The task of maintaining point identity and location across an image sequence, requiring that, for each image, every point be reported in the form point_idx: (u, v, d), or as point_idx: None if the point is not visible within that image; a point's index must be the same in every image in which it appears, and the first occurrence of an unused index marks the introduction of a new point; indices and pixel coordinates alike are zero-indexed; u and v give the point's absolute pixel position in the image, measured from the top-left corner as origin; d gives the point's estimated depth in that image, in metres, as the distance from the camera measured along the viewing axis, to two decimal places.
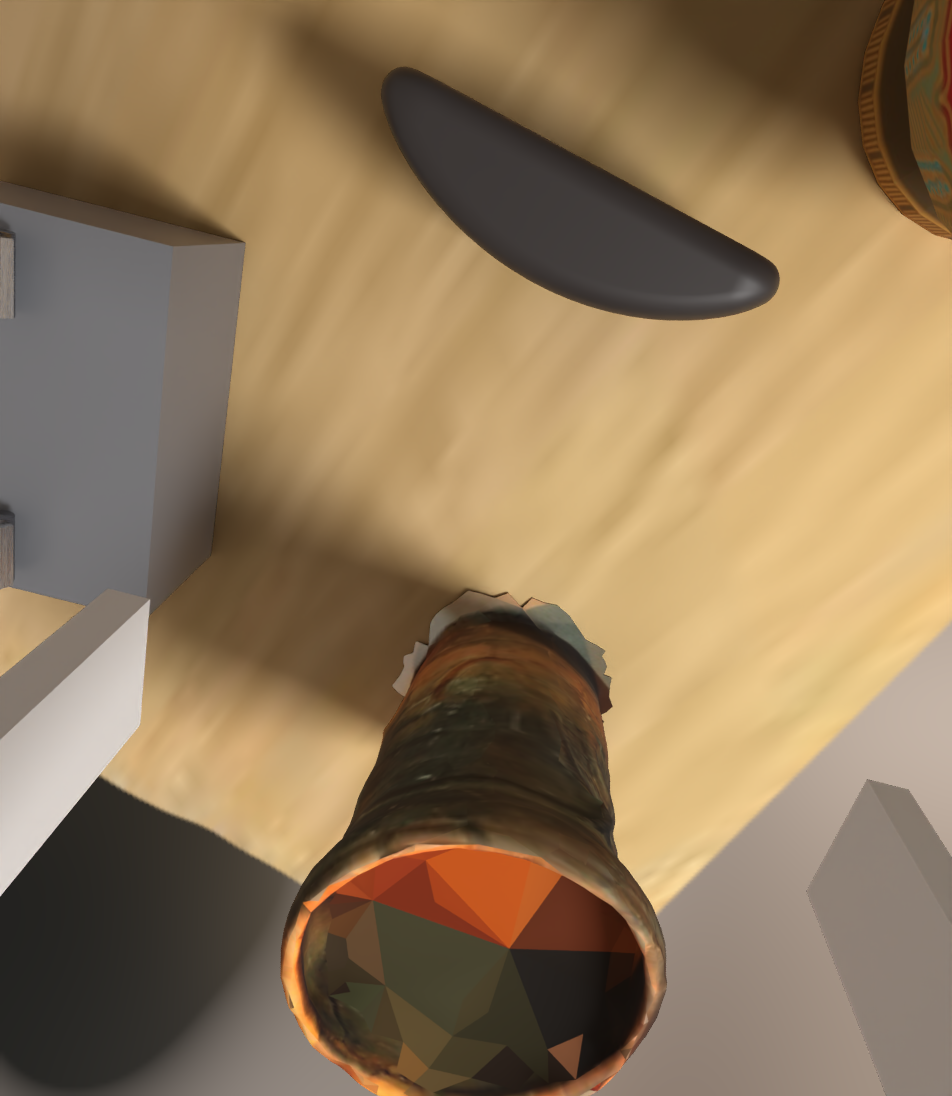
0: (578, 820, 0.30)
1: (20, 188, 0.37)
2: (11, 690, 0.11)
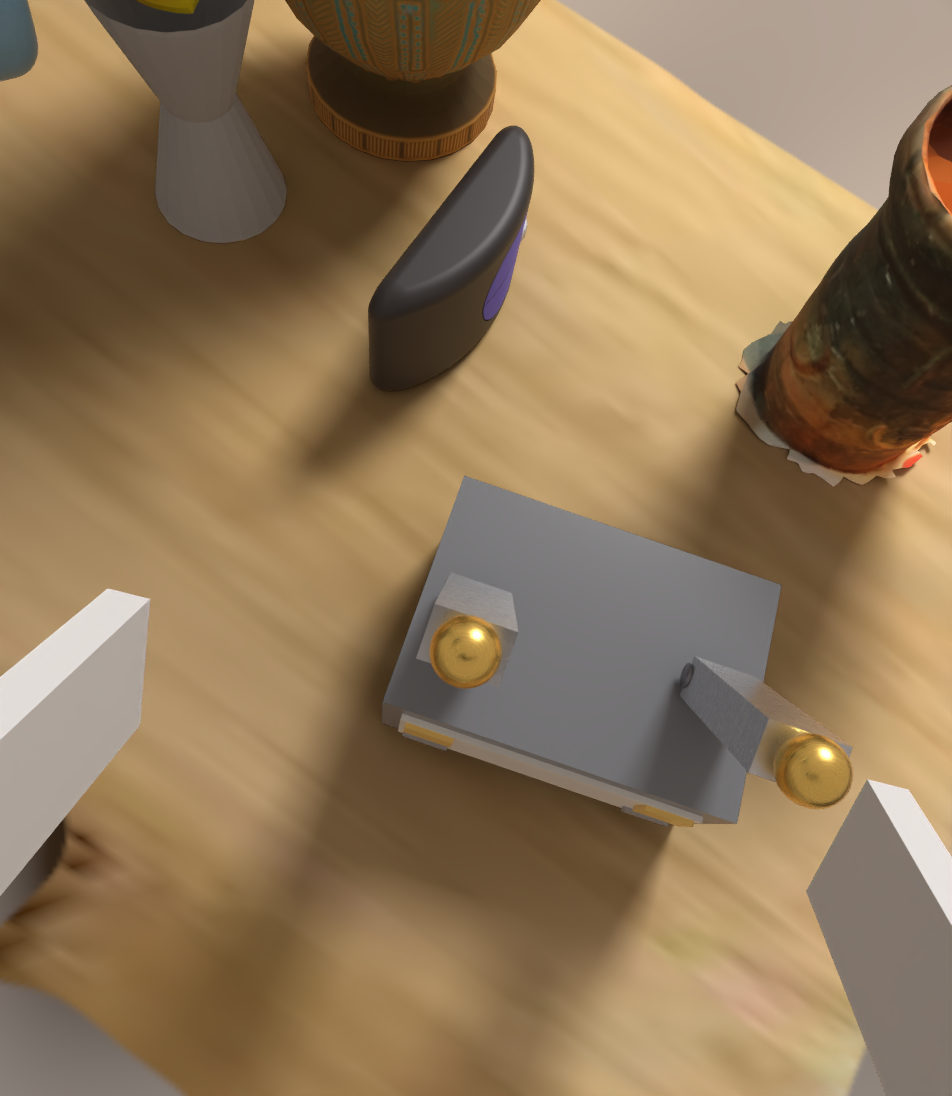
0: None
1: None
2: (11, 690, 0.11)
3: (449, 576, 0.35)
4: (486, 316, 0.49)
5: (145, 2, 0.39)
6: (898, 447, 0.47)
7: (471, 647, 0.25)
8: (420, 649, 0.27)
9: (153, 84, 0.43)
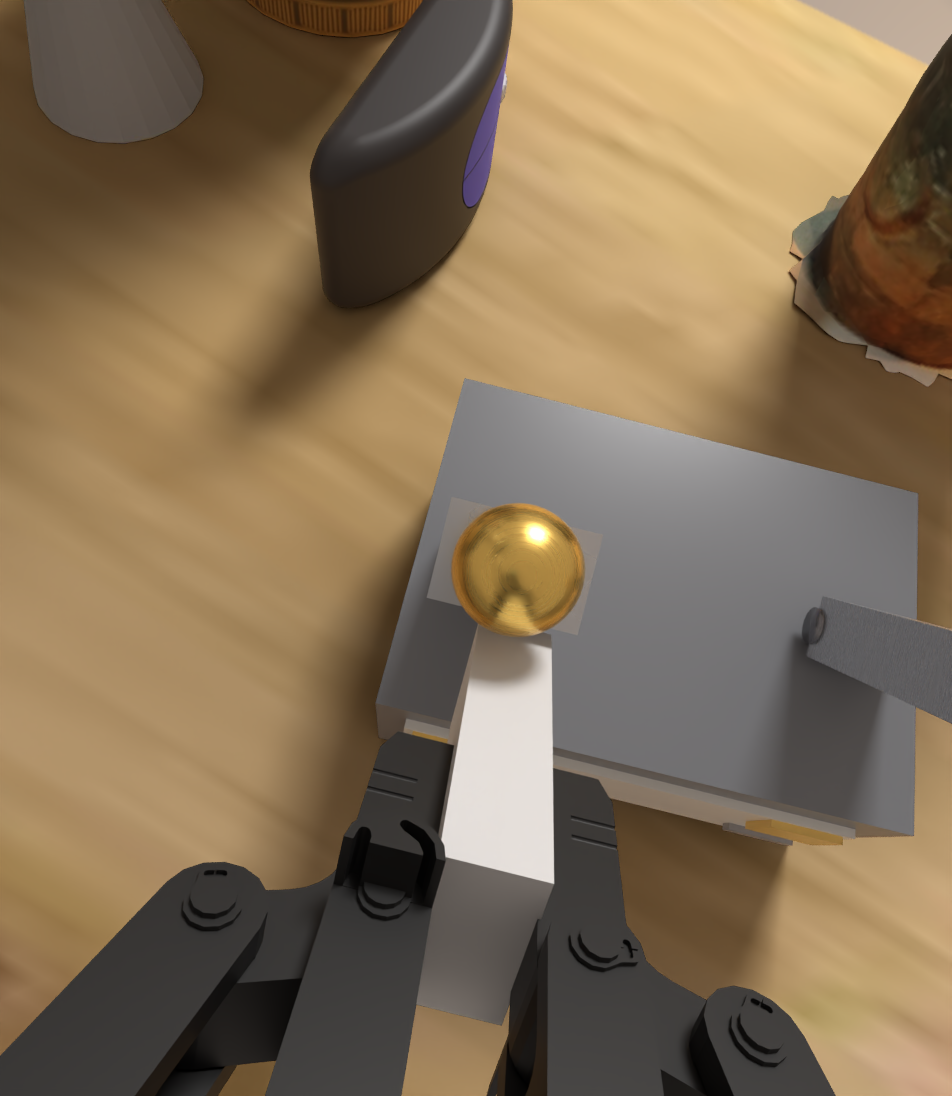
0: None
1: None
2: (482, 706, 0.13)
3: None
4: (466, 199, 0.38)
5: None
6: None
7: (532, 551, 0.13)
8: (433, 580, 0.15)
9: None
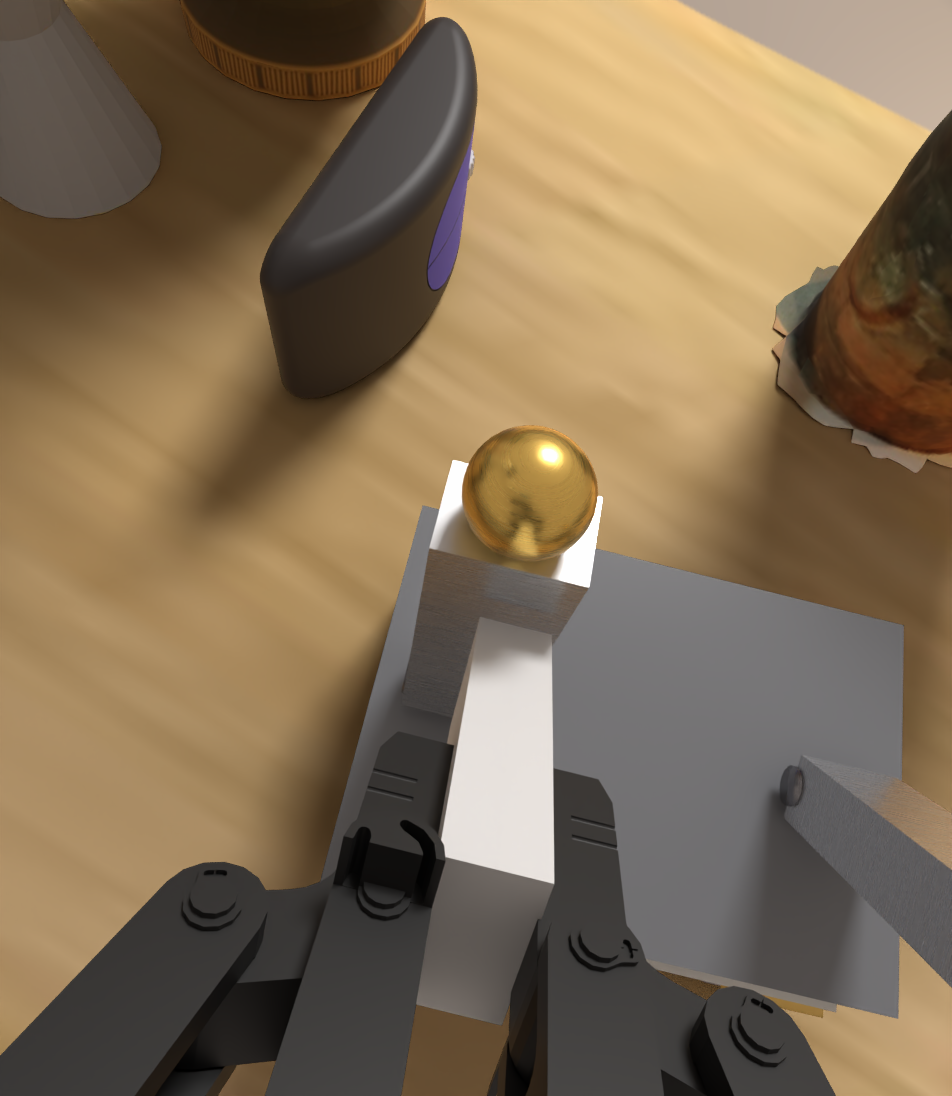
0: None
1: None
2: (482, 706, 0.13)
3: None
4: (432, 284, 0.36)
5: None
6: None
7: (551, 439, 0.13)
8: (436, 532, 0.14)
9: None
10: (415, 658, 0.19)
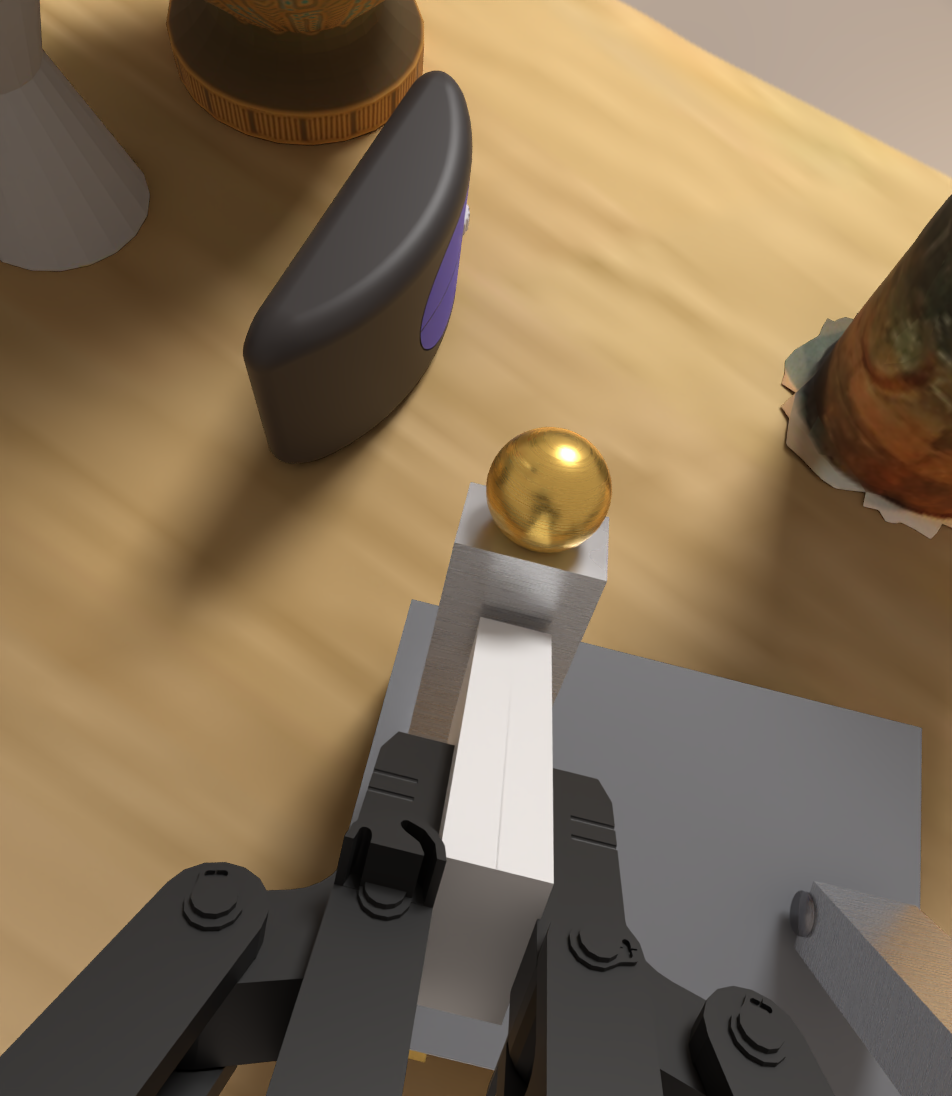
0: None
1: None
2: (483, 707, 0.13)
3: None
4: (426, 344, 0.35)
5: None
6: None
7: (569, 432, 0.15)
8: (460, 531, 0.15)
9: None
10: (416, 722, 0.19)
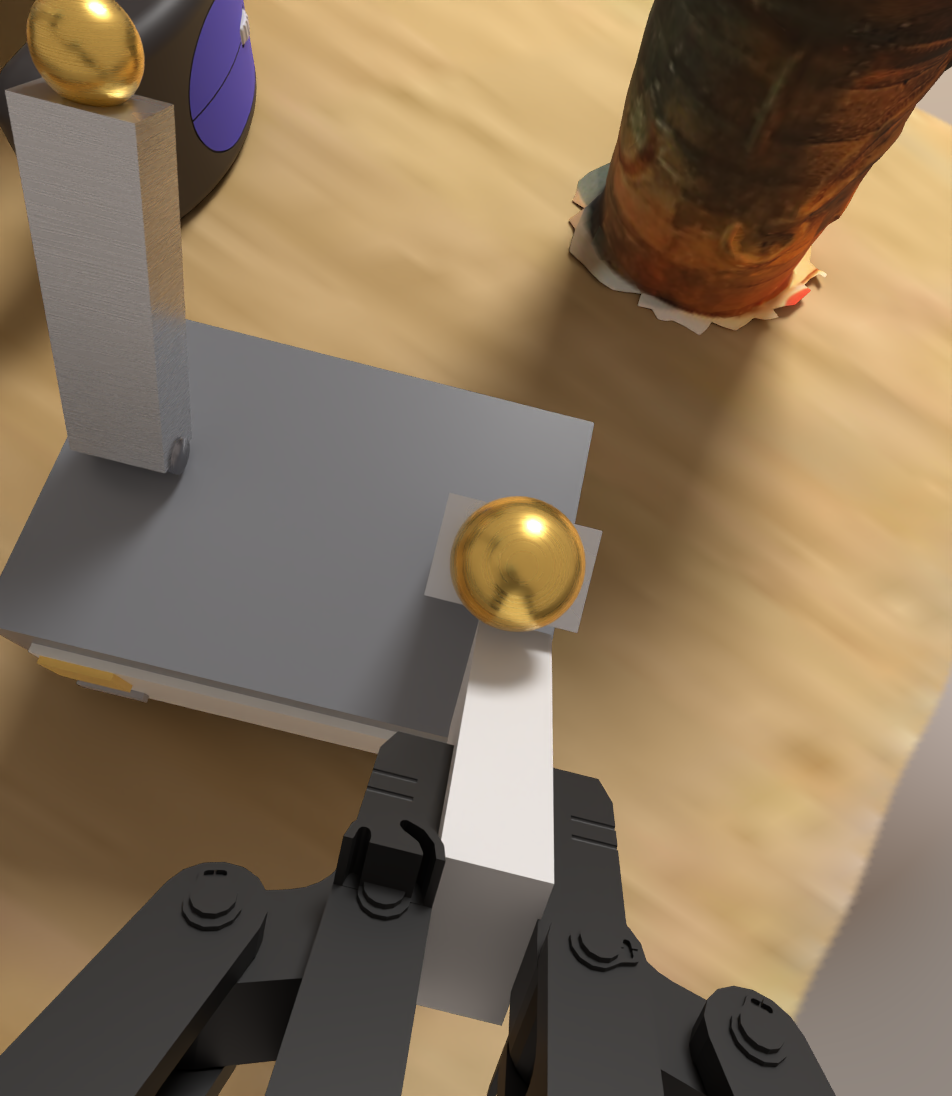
0: None
1: None
2: (482, 706, 0.13)
3: None
4: (208, 142, 0.37)
5: None
6: (765, 259, 0.36)
7: None
8: (15, 86, 0.18)
9: None
10: (52, 327, 0.21)
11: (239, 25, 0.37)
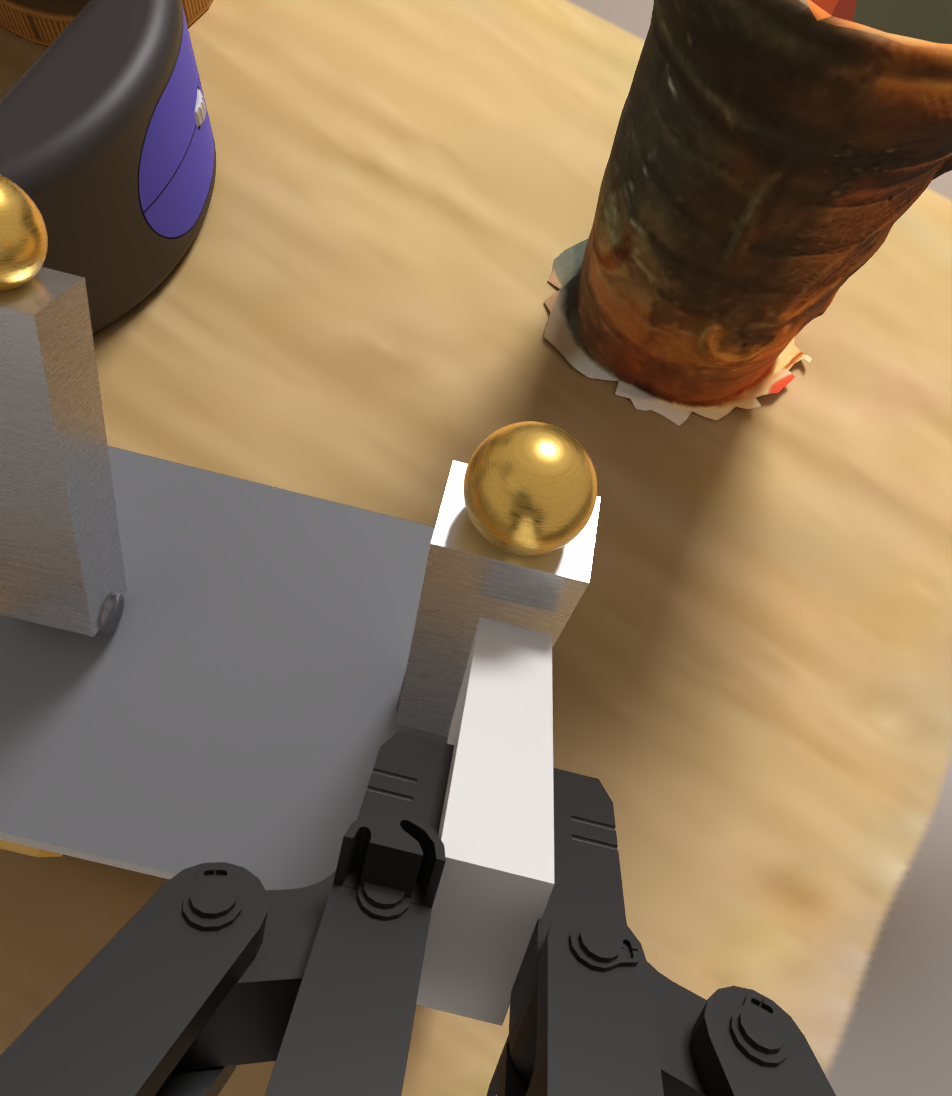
0: None
1: None
2: (482, 707, 0.13)
3: None
4: (162, 231, 0.35)
5: None
6: (746, 358, 0.34)
7: None
8: None
9: None
10: None
11: (194, 108, 0.35)
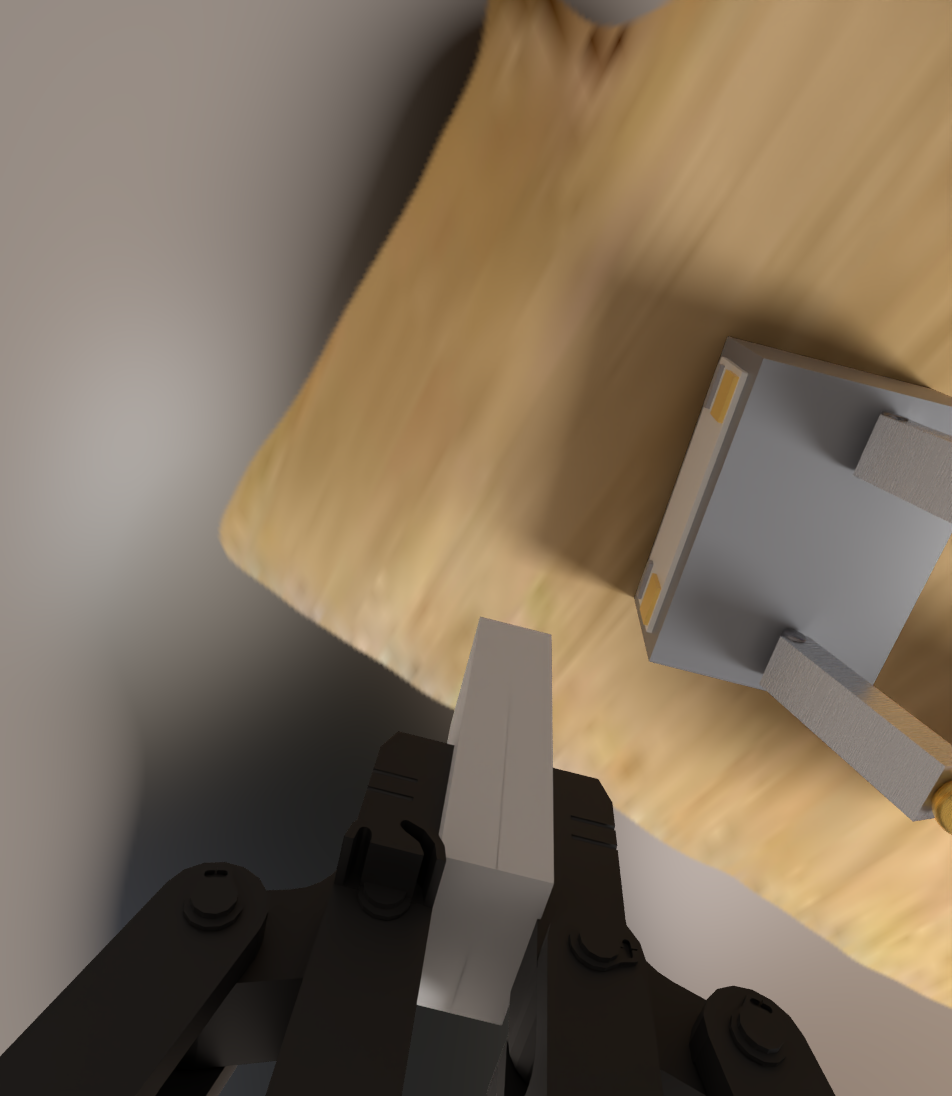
0: None
1: (759, 346, 0.43)
2: (482, 707, 0.13)
3: (940, 432, 0.35)
4: None
5: None
6: None
7: None
8: None
9: None
10: None
11: None
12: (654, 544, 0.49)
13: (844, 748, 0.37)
